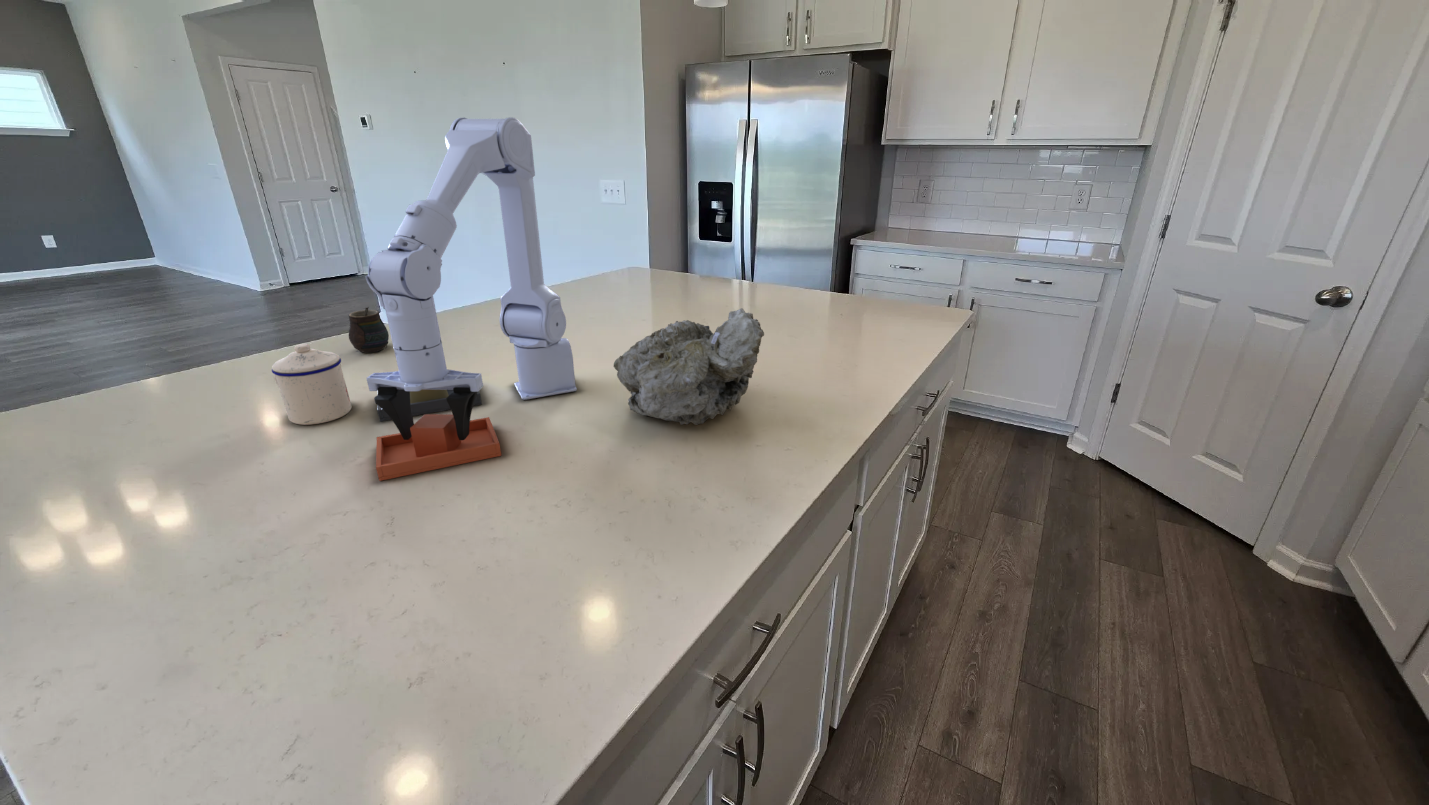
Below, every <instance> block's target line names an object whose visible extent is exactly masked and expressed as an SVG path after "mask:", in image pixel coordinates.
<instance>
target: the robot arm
mask: <svg viewBox="0 0 1429 805" xmlns="http://www.w3.org/2000/svg"><path fill="white" fill-rule="evenodd" d="M444 140H445V146H446V149H447V151H446V153H445V155H444V158H443V160H442V163H441V166H440V167H439V169H438V172H437V174H436V177H435V179H434V181H433V183H432V186H431V187H430V191H429V193H428V195H427V197H426V199H421V200H415V201H414V202H412V204H408V206H407V208H406V209H405V216H404V218H403V220H402V221H401V223H400V225H399V227H398V229H397V230H396V232H395V234H394V235H393V237H392V238H391V239H390V242H389V244H388V246H387V249H383V250H381V251H378V252H377V253H375V255H374V256H373V257H372V258H371V260H370V261H369V263H368V267H367V275H365V280H366V283H367V286H368V287H369V288H370V289H371V291H372V292H373V293H374V294H376V296H377V297H378V300H379V305H380V307H382V309H383V310H384V311H385V316H386V320H387V325H388V329H389V334H390V339H391V343H392V347H393V351H394V356H395V360H396V365H397V369H398V370H395V371H385V372H384V371H383V372H373V373H371V374H369V375H368V376H367V377H366V384H367V386H368V391H369V392H377V394H376V396H374V397H373V398H374V399H373V400H374V403H375V404H376V406H377V405H378V406H380V407H381V408H382V409H383V410H384V411H385V412H386V413H387V414H388V415H389V417H390V418H391V419H392V422H393V423H394V426H395V427H396V428H397V430H398V433H401V435H402V437H403V439H404V440H409V439H410V438H411V437H412V435H411V430H410V428H411V427H412V426H413V425H414V424H415V421H414V416H412V412H411V405H410V391H420V390H422V389H432V390H453V391H454V392H453V393H451V394H450V395H449V396H448V397H447V398H446V399H447V402H448V404H449V406H450V408H451V410H450V411H451V413H452V414H453V416H454V420H455V425H456V431H457V436H458V438H459V440H465V439H466V437H467V436H468V435H469V426H470V420H471V416H472V411H473V407H474V406H473V404H474V401H475V398H476V395H477V392H478V391H479V392H480V390H481V389H482V388H483V387H484V381H483V376H482V373H481V372H467V371H461V370H455V369H448V368H447V363H446V357H445V352H444V347H443V341H442V336H441V331H440V326H439V325H440V324H439V320H438V315H437V314H438V313H437V309H436V305H435V298H434V295H435V293H436V292H437V291H438V289H440V287H441V283H442V272H441V270H442V269H441V268H442V267H443V266H442V265H443V260H442V257H443V255H444V253H445V251H446V250H447V247H448V245H449V244H450V242H451V239H452V238H453V236H454V234H455V232H456V230H457V226H458V225H457V221H456V219H455V216H454V213H455V211H456V210H457V208H458V207H459V206H460V203H461V202H462V200H463V199H464V198H465V195H466V194H467V193H468V191H469V190H470V188H471V186H472V185H473V183H475V182H474V181H475V180H476V178H477V177H478V175H479V174H482V175H484V176H486V177H487V178H488V179H489V180H490V181H491V182H493V183H494V184H495V186H497V188H498V189H497V190H498V196H499V203H500V211H501V212H500V213H501V220H502V225H503V226H502V227H503V236H504V242H505V250H506V258H507V267H508V275H509V282H510V288H508V290H507V291H506V292H504V293H503V295H501V296H500V312H499V313H500V314H499V325H500V329H501V331H502V333H503V335H504V336H506V337H508V338H509V343H510V344H513V346H514V347H513V348H514V354H515V362H516V370H517V378H518V381H516V382H514V387H515V389H516V391H517V392H518V394H519V396H520V398H521V399H522V400H523V401H524V400H525V401H526V400H530V399H536V398H544V397H548V396H549V397H550V396H554V395H561V394H567V393H572V392H577V391H578V388H577V387H576V376H575V367H574V366H575V365H574V357H573V356H574V355H573V351H572V350H573V349H572V346H571V342H570V341H569V339H568V338H567V337H563V336H564V335H565V332H566V329H567V317H566V315H565V311H564V310H563V308H562V302H561V297H560V296H559V295H558V294H557V293H556V292H555V291H554V290H552V289H551V288H549V287H548V286H547V285H546V284H545V281H544V280H545V279H544V270H543V269H544V268H543V262H542V261H543V260H542V252H541V241H540V233H539V232H540V231H539V223H538V214H537V213H538V212H537V204H536V193H535V184H534V177H535V176H536V171H535V162H534V152H533V140H532V134H531V133H530V132H529V131H528V129H527V128H526V127H525V126H524V124H523V123H522V122H521V121H520V120H519V119H518V118H516V117H513V116H510V117H505V118H467V117H457V118H455V119H454V120H452V122H451V124H450V127H449V130H448V131H447V132H446V134H445V135H444Z"/></svg>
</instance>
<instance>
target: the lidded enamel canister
mask: <svg viewBox="0 0 1429 805" xmlns="http://www.w3.org/2000/svg"><path fill="white" fill-rule="evenodd" d="M341 363H342V359H341V357H340V355H338V354H337V353H335V352H332V351H323V350H320V349H315V348H311V346H310V344H307V343H299V344H296V345H295V346H294V351H292V352H290V353H289V354H287V355H286V356H285V357H283V358H280V359H278V360H276V361H275V362H274V363H273V364H272V366H271V373H272V374H273V378H274V381H275V384H276V386H277V388H278V389H279V393H280V396H281V398H282V402H283V404H284V405H283V406H284V409H285V411H286V414H287V417H288V421H290V422H291V423H293V424H296V425H305V426H307V425H308V426H309V425H318V424H325V423H329V422H331V421H335V420H338V419H340V418H342V417H344V416H345V415H347V414H348V413H350V412H351V410H352V403H351V399H350V395H349V392H348V387H347V384H346V380H345V376H344V372H343V368H342V365H341Z"/></svg>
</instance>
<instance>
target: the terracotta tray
mask: <svg viewBox="0 0 1429 805" xmlns="http://www.w3.org/2000/svg"><path fill="white" fill-rule="evenodd" d="M375 448H376V449H375V450H376V451H375V453H376V454H375V470H376V473H377V477H378V481H379V482H381V481H382V482H383V481H387V480H390V479H391V480H392V479H395V478H402V477H405V476H406V477H407V476H410V475H415V474H420V473H424V472H430V471H435V470H439V469H444V468H449V467H454V466H458V465H463V464H464V465H465V464H468V463H473V462H478V461H483V460H487V459H492V458H498V457H501V456H502V451H501V443H500V441H499V439H498V436H497V434H496V431H495V428H494V426H493V422H492V421H491V418H490V417H489V416H487V417H482V418H477V419H476V418H475V419H470V426H469V435H468V436H467V437H466V439H465V440H461V443H460V445H459V446H458V447H457V448H456V449H455V450H454V451H449V452H444V453H439V454H434V455H428V456H423V457H416V453H415V448H414V444H413V439H412V437H411V438H410V439H409V440H404V439H403V437H402V435H401V433H400V432H398V433H392V434H386V435H381V436H377V437H376V446H375Z"/></svg>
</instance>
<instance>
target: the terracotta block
mask: <svg viewBox="0 0 1429 805" xmlns="http://www.w3.org/2000/svg"><path fill="white" fill-rule="evenodd" d="M410 430H411V435H412V439H413V444H414V448H415V453H416V457H423V456H428V455H434V454H439V453H444V452H449V451H454V450H455V449H456V448H457V447H458V446H459V445H460V443H461V440H459V438H458V436H457V431H456V425H455V420H454V416H453V413H452V414H451V413H449V414H448V413H446V414H445V413H444V414H441V413H428V414H422V416H421V417H420V418H419V419H418V420H417V421H416V422H414V425H413V426H412V427H411V428H410Z"/></svg>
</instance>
